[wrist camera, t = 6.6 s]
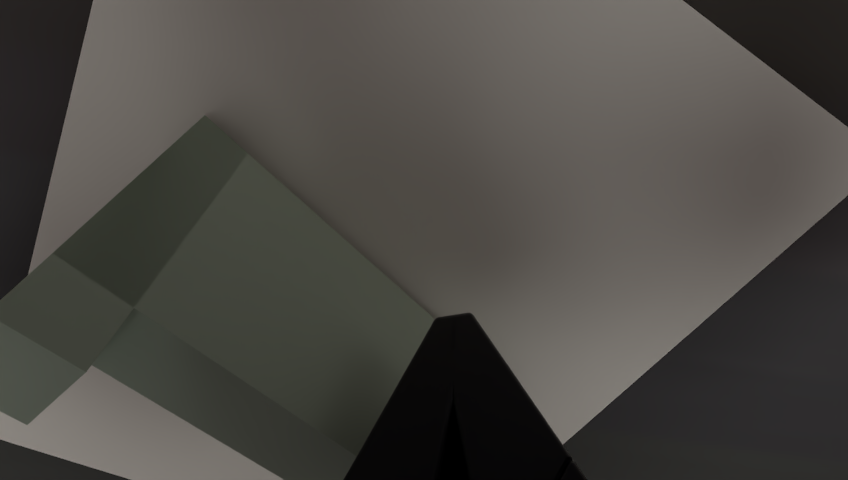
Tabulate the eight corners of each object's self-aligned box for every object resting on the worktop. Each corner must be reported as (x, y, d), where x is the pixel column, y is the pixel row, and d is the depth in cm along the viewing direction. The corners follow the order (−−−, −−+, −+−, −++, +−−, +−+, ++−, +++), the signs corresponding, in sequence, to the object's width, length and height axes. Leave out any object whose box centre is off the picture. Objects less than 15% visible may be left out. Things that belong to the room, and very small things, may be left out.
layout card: (420, 559, 19) (420, 569, 18) (-3, 427, 15) (-12, 437, 15) (877, 153, 10) (890, 158, 10) (193, -372, 7) (183, -384, 6)
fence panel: (500, 377, 13) (545, 642, 8) (464, 399, 14) (485, 663, 9) (205, 115, 10) (-15, 313, 5) (166, 155, 10) (-71, 375, 5)
